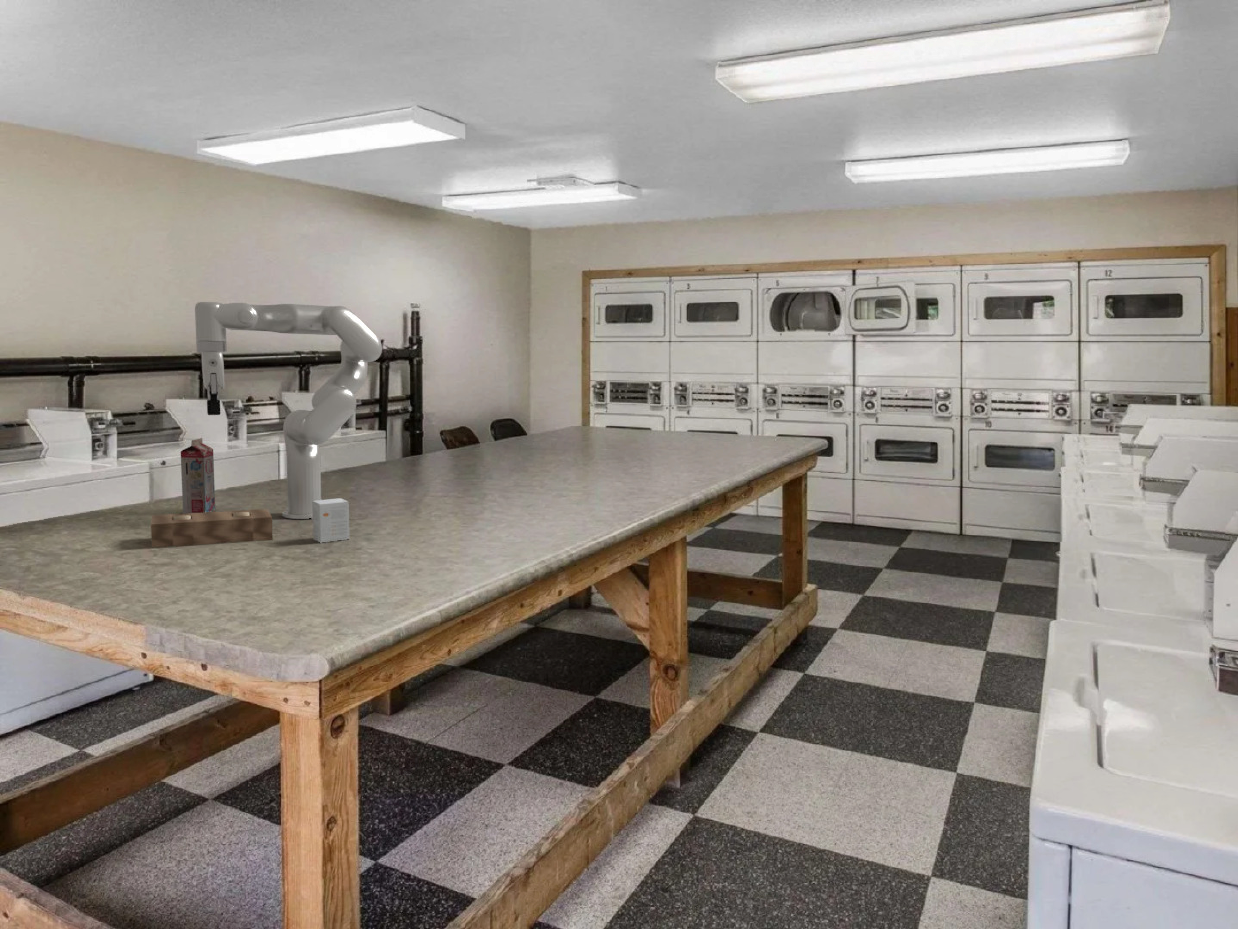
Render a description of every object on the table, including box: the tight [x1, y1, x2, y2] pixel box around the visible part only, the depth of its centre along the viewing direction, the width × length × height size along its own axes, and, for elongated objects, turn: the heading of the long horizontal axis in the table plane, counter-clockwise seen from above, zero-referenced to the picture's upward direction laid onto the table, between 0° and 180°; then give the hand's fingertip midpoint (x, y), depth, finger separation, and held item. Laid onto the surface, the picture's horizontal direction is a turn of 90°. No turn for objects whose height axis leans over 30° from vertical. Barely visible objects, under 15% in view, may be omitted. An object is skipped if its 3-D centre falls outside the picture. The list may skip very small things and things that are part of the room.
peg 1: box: [173, 515, 191, 520], centre depth 224 cm, size 4×4×6 cm
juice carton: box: [180, 437, 216, 514], centre depth 260 cm, size 7×7×22 cm
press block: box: [150, 508, 274, 549], centre depth 227 cm, size 28×12×6 cm, turn 117°
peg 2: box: [233, 512, 250, 517], centre depth 230 cm, size 4×4×6 cm
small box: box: [311, 497, 350, 544], centre depth 230 cm, size 8×6×10 cm
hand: (213, 414), depth 240 cm, fingers closed
